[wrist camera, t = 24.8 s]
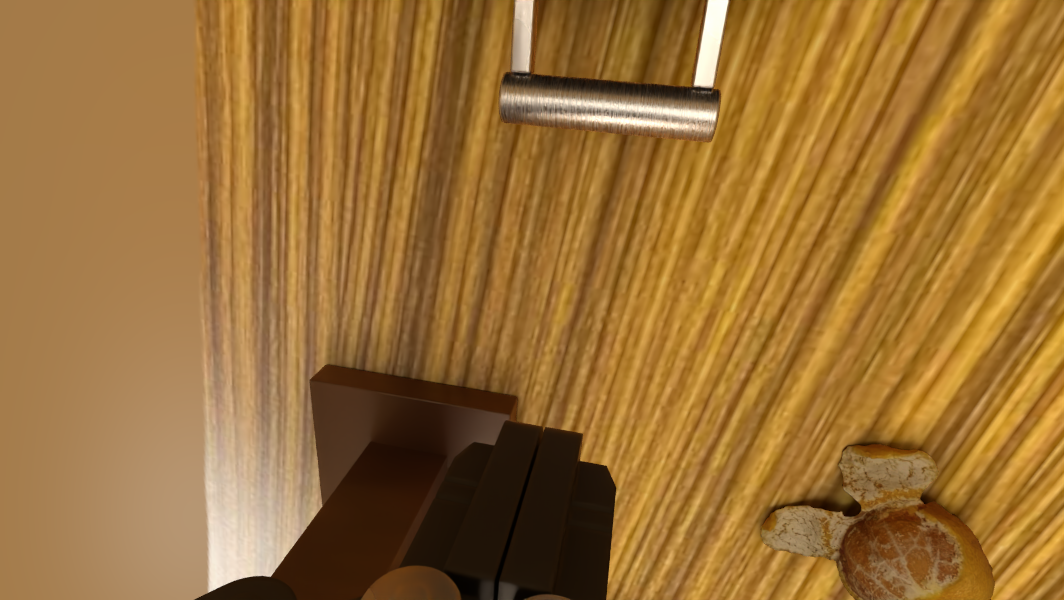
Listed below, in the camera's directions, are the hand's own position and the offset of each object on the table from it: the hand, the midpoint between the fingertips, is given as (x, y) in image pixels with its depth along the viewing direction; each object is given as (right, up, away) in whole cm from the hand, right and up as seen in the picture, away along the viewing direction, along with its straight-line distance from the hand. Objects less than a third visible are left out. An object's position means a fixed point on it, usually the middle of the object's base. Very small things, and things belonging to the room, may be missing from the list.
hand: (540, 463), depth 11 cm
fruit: (+16, -6, +15) cm, 23 cm away
